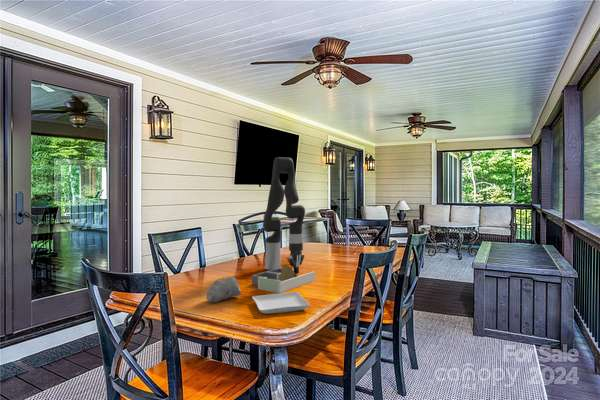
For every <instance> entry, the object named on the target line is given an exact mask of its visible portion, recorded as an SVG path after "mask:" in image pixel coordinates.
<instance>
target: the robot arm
mask: <svg viewBox="0 0 600 400" xmlns="http://www.w3.org/2000/svg"><path fill="white" fill-rule="evenodd" d="M272 165H273V166H272V174H271V175H272V176H271V182H270V183H271V184H270V187H269V192H268V193H269V194H268V198H267V205H266V210H265V214H264V218H263V221H262V228H263V231H264V232H266V233H267V232H273V233H272V234H271V235H269V236H267V237H266V238H265V254H264V269H265V270H267V271H270V270H274V269H278V268H282V267H281V264H282V263H281V261H282V260H281V259H282V258H281V230H282V221H281V218H280V217H279V216H273V215H274V214H275V212H276V211H277V210H278V209H279V208H280V207H281V205H282V204H283V202H284V199H285V204H286V205H285V216H286V217H287V218H288V219H296V220H295V221H293V222H291V223H289V226H288V232H289V234H288V250H289V251H290V254H289V255H290V256H289V257H287V261H288V263H289V265H290V266H291V267H293V269H294V272H295V274H296V275H298V274H300V266H301V265H302V264H303V262H304V258H305V255H304V254H302V253H303V251H304V239H303V238H304V237H303V223H304V218H305V216H306V208H305V207H304V205H301V204H298V202H299V200H300V198H299V194H298V190H297V185H296V176H295V175H296V174H295V166H294V161H293V158H291V157H288V156H287V157H284V156H283V157H282V156H278V157H277V156H276V157H275V158H274V160H273V164H272ZM280 174H287V175H288V179H287V181H286V182H285V185H284V187H283V184H282V183H281V181H280ZM297 204H298V205H297Z"/></svg>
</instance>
